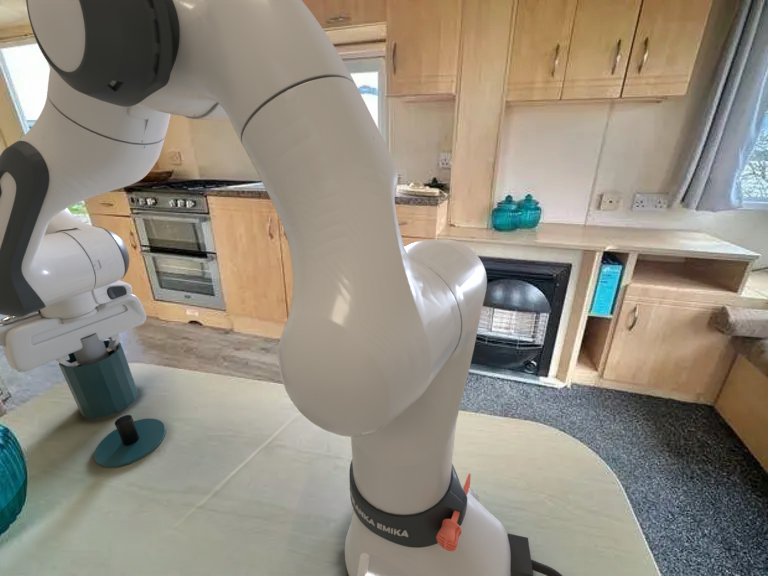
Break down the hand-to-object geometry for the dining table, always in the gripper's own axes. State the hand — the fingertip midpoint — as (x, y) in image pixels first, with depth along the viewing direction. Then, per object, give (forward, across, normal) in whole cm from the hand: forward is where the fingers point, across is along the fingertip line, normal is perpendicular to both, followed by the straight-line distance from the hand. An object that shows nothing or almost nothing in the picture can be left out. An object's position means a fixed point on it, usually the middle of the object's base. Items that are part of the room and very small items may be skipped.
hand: (95, 364), depth 66 cm
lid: (+9, -4, -15) cm, 18 cm away
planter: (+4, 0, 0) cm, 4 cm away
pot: (+10, 0, 0) cm, 10 cm away
